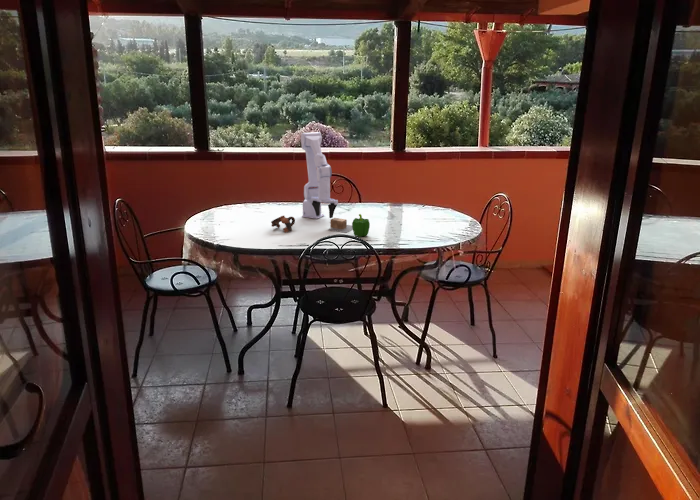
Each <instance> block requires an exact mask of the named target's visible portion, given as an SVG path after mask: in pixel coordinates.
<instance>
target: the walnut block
mask: <svg viewBox="0 0 700 500" xmlns="http://www.w3.org/2000/svg"><path fill="white" fill-rule="evenodd" d="M329 220H330V222H329V223H330V229H331V228H338V229H344V228H346V227H347V225H348V224H347V222H348V220H347V219H346V218H339V217H332V218H330V219H329Z"/></svg>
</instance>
